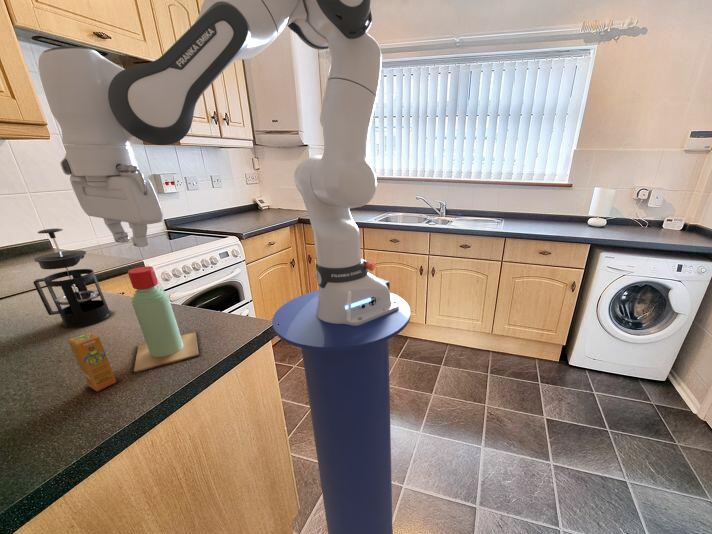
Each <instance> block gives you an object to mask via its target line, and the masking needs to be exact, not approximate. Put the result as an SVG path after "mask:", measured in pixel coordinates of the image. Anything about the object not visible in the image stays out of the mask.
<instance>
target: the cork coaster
mask: <svg viewBox="0 0 712 534" xmlns="http://www.w3.org/2000/svg"><path fill="white" fill-rule="evenodd" d="M180 335H181V339H182V342H183V348H182V349H181V350H180V351H178V352H176V353H174V354H172V355H169V356H165V357H153V356H151V354H150V352H149V349H148V346H147V343H143V344H142V343H141V344H139V345H137V350H136V355H135V361H134V368H133V372H134V373H139V372H141V371H146V370H150V369H152V368H157V367H161V366H164V365H169V364H172V363H176V362H179V361H183V360H187V359H191V358H195V357H199V356H200V354H199V346H198V338H197V333H196V331H194V332H190V333H185V334H180Z"/></svg>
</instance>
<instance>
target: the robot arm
mask: <svg viewBox="0 0 712 534" xmlns="http://www.w3.org/2000/svg"><path fill="white" fill-rule="evenodd" d="M372 21H373V15H372V11H371V0H203V2H202V4H201V6H200V10H199V14H198V16H197V18H196V19H195V21H194V23H193V24H192V25H191V26H190V27H189V28H188V29H187V30H186V31H185V32H184V33H183V34H182V35H181V36H180V37H179V38H178V39H177V40H176V41H175V42H174V43H173V44H172V45H171V46H170V47H169V48H168V49H167V50H166V51H165V52H164V53H163V54H162V55H161V56H159V57H158V58H157V59H156V60H153V61H150V62H148V63H147V62H146V63H144V64H143V63H142V64H139V65H134V66H130V67H128V68H124V67H122V66H120V65H119V64H116V63H114V62H113V61H111V60H110V59H108V58H106V57H105V56H103V54H102V55H101V54H100V53H99V52H98V51H96V50H95V49H92V48H89V47H82V46H74V45H72V46H71V45H69V46H67V45H66V46H65V45H64V46H55V47H51V48H49V49H45V50H44V51H43V52H42V53H41V54H40V56H39V57H38V61H37V62H38V64H37V65H38V73H39V77H40V81H41V85H42V88H43V92H44V95H45V98H46V100H47V104H48V107H49V110H50V112H51V114H52V115H53V116H52V117H54V119H55V120H56V122H57V123H58V125H59V127H60V130H61V140H62V141H61V142H62V145H63V147H64V150H65V155H64V157H63V159H62V160H61V161H60V167H61V169H62V172H63V174H64V175H66V176H69V181H70V184H71V187H72V189H73V193H74V194H75V196H76V199H77V201H78V203H79V205H80V207H81V209H82V210H83V212H84V213H85V214H86V216H89V217H93V218H99V219H103V222H104V224H105V226H106V227H107V228H108V230H109V231H110V233H111V234H112V236H113V237H112V238H113V240H114V242H116V243H119V244H124V243H129V242H130V239H131V241H132V245H133V246H134V247H137V248H145V247H148V246H149V241H148V238H147V235H148V225H154V224H159V223H162V222H163V219H164V213H163V210H162V207H161V204H160V201H159V199H158V195H157V193H156V190H155V188H154V186H153V183H152V181H150V179H149V178H148V177H146V176H145V174H144V173H143V172H142V171H141V170H140V167H139V164H138V159H137V157H136V154H135V150H134V147H133V143H132V139H138V140H140V141H142V142H143V143H148V144H150V145H156V146H169V145H173V144H176V143H178V142H180V141H181V140H183V139H184V138H185V137H186V136H187V135H188V133H189V132H190V129H191V127H192V124H193V121H194V114H195V109H196V105H197V103H198V101H199V100H200V98H201V97H202V96H203V94H204V93H205V91H206V90H208V88H210V86H211V85H213V83H214V82H215V81H216V80H217V79H218V78H219V76H220V75H221V74H223V72H224V71H225V70H226V69H227V68H228V67H229V66H230V65H232V64H234V63H235V62H237V61H241V60H242V61H243V60H244V61H250V60H251V59H253V58H254V57H256V56H257V55H259V54H261V53H262V52H264V50H266V49H267V48H268V47H269V46H271V44H272V43H274V41H275V40H276V39H277V38H278V37H279V36H280V35H281V34H282V32H283V31H284V30H285V29H286V28H287V27H288V29H290V31H292V32H293V33H295V34H296V35H297V37H298V38H299V39H300V40H301V41H302V42H303V43H304V44H306V45H307V46H308V47H310V48H312V49H314V50H318V51H319V50H320V51H323V50H327V49H328V51H329V59H330V62H329V63H330V64H329V71H328V75H327V79H326V84H325V88H324V93H323V100H322V104H321V109H320V114H319V123H320V125H321V127H322V130H323V153H322V154H313V155H311V156H308V157H307V158H305V159H303V160H301V161H300V162H299V163H298V164H297V166H296V167H295V170H294V174H293V175H294V176H293V179H294V184H295V187H296V189H297V190H298V191H299V193H300V194H301V197H302V200H303V203H304V207H305V210H306V212H307V216H308V218H309V222H310V225H311V229H312V234H313V240H314V241H313V242H314V249H315V256H316V262H315V278H316V284H317V285H318V290H319V298H318V307H317V312H316V315H317V317H318V318H319V319H320V320H322V321H325V322H328V323H335V324H348V325H353V326H358V325H361V324H363V323H366V322H368V321H371V320H373V319H376V318H378V317H381V316H383V315H386V314H388V313H391V312H393V311H395V310H398V309H399V303H398V301H397V300H396V299H395V298H394V297H392V296H391V295H390V291H391V290H390V289H391V288H390V287H391V286H390V285H391V284H390V281H389V280H386V279H383V278H381V277H377V276H375V275H374V274H372V273H370V272H373V271H375V269H376V264H375V263H373V262H372V261H367V260H365V259H363V258H362V253H361V252H362V251H361V232H360V229H359V227H358V225H357V224H356V222H355V220H354V219H353V216H352V214H351V211H350V209H356V208H357V209H358V208H362V207H363V206H366V205H367V204H369V203H370V202H371V201H372V200H373V198H374V196H375V194H376V191H377V185H378V182H377V176H376V173H375V171H374V169H373V167H372V165H371V162H370V150H369V149H370V148H369V145H370V143H369V141H370V132H371V126H372V121H373V116H374V113H375V108H376V103H377V99H378V93H379V89H380V80H381V71H382V51H381V47H380V45H379V43H378V42H377V41H376V39H375V38H374V37H373V36H371V35H370V34H369V33H367V32H368V31H369V29H370V28H371V25H372ZM122 222H123V223H128V226H129V228H130V229H131V231H132V236H131V237H130V238H129V234H128V232H127V231H125V230H124V227H123V225H122ZM368 270H369V271H370V272H369V271H368Z"/></svg>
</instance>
